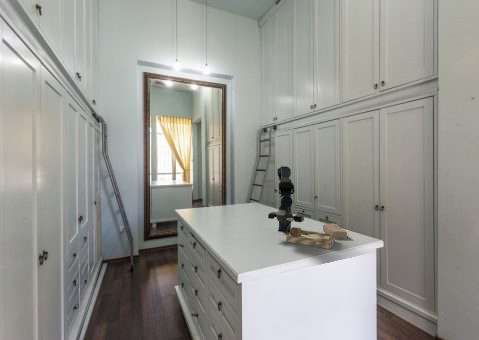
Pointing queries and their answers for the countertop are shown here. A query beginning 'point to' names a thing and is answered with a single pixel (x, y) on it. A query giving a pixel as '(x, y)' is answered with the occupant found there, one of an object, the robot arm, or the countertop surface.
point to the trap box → (313, 239)
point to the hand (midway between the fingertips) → (285, 232)
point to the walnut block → (295, 231)
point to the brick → (335, 231)
